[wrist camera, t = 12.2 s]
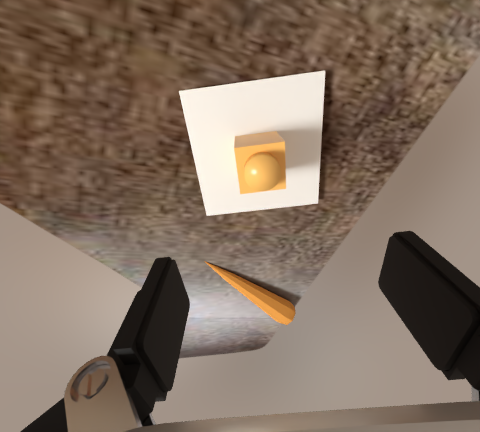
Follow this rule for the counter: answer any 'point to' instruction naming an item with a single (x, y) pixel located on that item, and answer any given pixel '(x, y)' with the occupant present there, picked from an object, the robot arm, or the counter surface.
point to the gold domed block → (260, 162)
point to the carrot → (260, 297)
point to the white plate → (252, 122)
